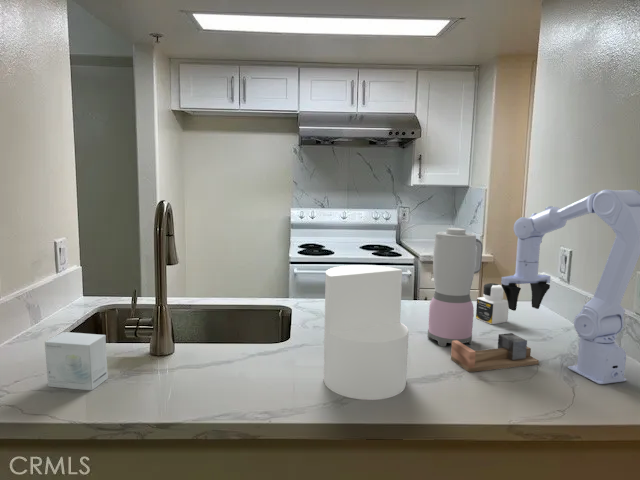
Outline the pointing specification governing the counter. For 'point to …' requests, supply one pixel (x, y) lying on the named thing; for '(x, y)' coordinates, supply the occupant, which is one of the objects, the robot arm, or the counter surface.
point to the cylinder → (364, 332)
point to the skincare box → (76, 360)
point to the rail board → (499, 364)
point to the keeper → (513, 345)
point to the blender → (453, 285)
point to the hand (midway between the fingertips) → (523, 308)
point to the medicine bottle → (492, 305)
